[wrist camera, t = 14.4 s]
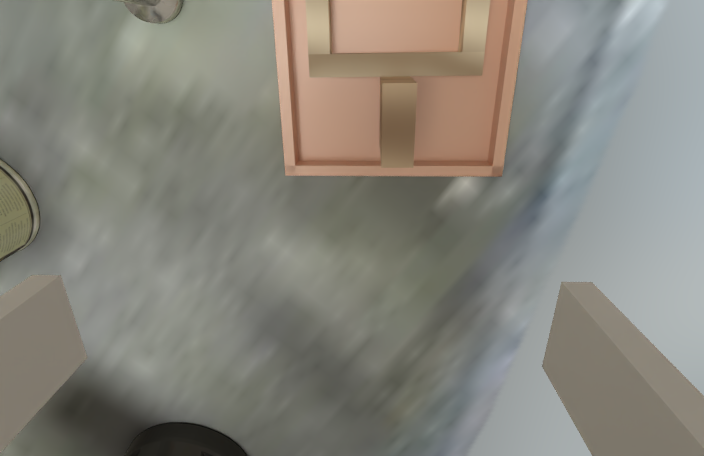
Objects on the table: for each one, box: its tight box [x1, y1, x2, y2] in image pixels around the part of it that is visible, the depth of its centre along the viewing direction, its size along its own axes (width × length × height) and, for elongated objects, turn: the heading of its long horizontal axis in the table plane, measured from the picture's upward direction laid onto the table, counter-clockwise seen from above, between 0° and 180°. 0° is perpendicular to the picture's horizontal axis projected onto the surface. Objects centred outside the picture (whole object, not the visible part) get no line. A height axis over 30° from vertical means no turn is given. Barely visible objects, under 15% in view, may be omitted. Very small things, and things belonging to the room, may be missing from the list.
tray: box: [272, 0, 527, 177], centre depth 28 cm, size 22×17×2 cm
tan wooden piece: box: [305, 0, 490, 168], centre depth 25 cm, size 17×12×7 cm
